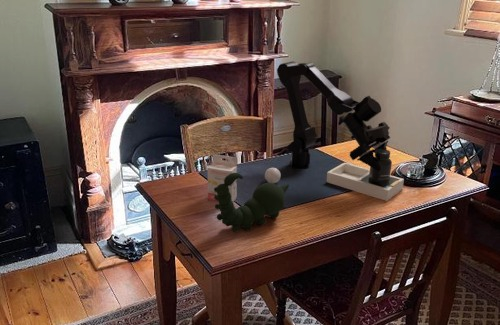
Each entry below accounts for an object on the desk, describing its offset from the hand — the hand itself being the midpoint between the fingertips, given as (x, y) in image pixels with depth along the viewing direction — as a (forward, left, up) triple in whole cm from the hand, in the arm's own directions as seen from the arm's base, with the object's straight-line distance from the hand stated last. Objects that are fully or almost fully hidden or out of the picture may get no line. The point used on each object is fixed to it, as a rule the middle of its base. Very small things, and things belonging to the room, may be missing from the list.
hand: (384, 167), depth 166 cm
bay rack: (-5, +4, -9) cm, 11 cm away
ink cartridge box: (-54, -7, -9) cm, 55 cm away
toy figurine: (-44, -23, -9) cm, 50 cm away
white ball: (-38, +6, -9) cm, 39 cm away
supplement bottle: (-1, +1, -7) cm, 7 cm away
